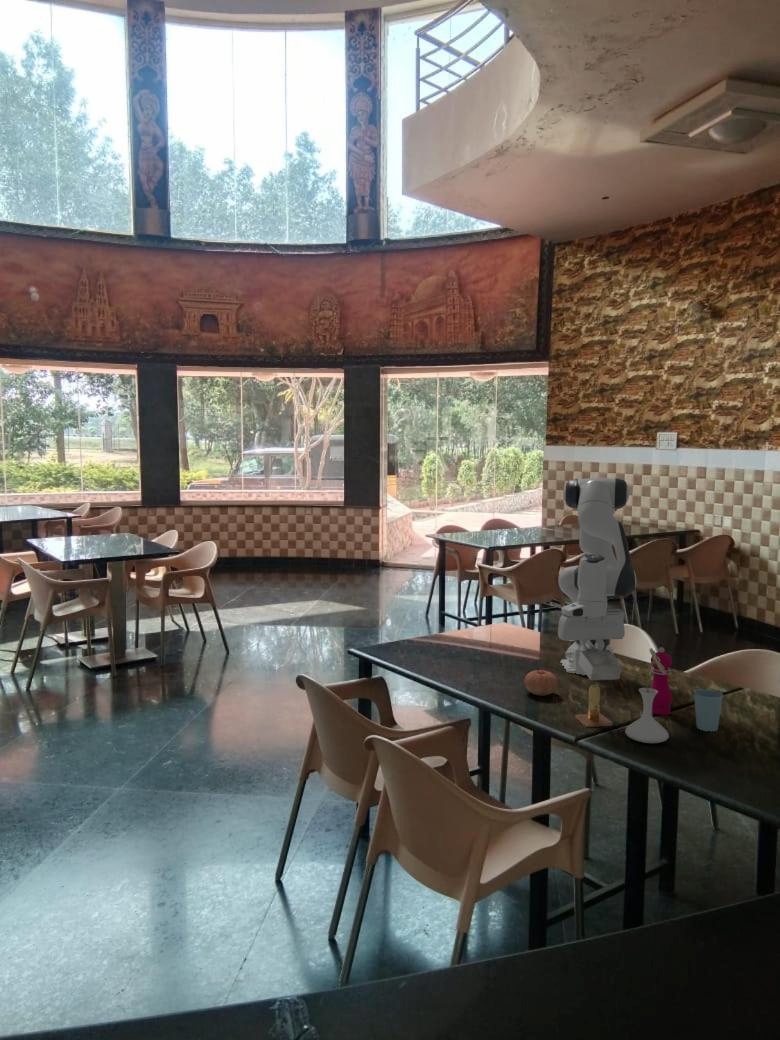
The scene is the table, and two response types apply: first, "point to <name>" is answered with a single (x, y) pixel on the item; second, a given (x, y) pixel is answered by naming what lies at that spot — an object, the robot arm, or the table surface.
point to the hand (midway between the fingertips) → (591, 654)
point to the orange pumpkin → (541, 682)
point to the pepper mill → (661, 684)
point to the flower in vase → (648, 714)
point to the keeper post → (594, 710)
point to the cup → (707, 709)
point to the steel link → (599, 663)
